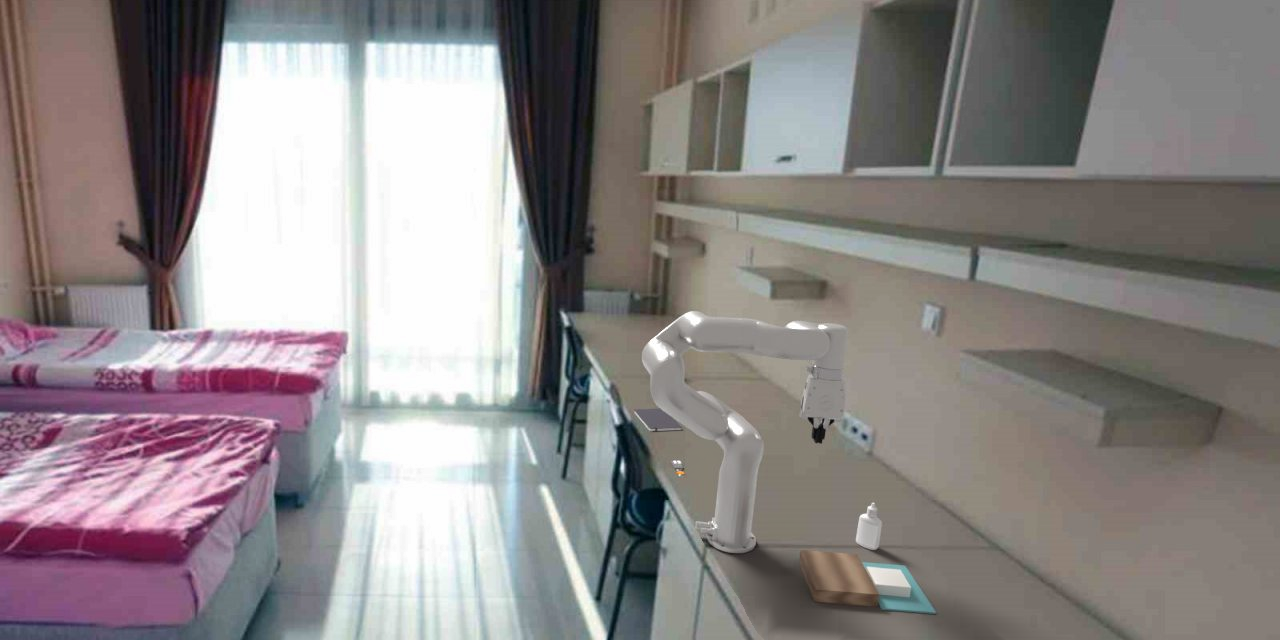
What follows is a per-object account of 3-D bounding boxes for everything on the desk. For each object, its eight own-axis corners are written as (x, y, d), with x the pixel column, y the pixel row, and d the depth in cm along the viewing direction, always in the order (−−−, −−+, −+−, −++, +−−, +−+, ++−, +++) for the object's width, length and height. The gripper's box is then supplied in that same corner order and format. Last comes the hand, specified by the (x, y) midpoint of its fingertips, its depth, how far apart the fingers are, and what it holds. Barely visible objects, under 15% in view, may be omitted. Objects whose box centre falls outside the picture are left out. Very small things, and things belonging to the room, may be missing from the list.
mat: (881, 609, 141) (881, 607, 141) (856, 563, 159) (856, 561, 159) (935, 613, 141) (936, 612, 141) (904, 567, 158) (905, 565, 158)
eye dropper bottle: (866, 552, 164) (873, 509, 162) (853, 540, 169) (859, 498, 167) (880, 550, 166) (887, 507, 163) (866, 538, 171) (873, 497, 168)
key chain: (669, 463, 210) (670, 459, 210) (680, 463, 211) (681, 459, 211) (677, 481, 198) (677, 476, 198) (689, 481, 198) (689, 476, 198)
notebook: (681, 431, 240) (663, 411, 260) (682, 427, 240) (663, 408, 259) (649, 432, 236) (633, 413, 256) (650, 428, 236) (633, 409, 256)
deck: (814, 601, 142) (816, 589, 142) (798, 560, 158) (800, 549, 157) (877, 606, 142) (879, 594, 141) (855, 565, 158) (857, 554, 157)
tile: (874, 594, 146) (875, 584, 145) (865, 576, 153) (866, 566, 152) (909, 597, 146) (911, 587, 145) (898, 579, 152) (900, 569, 152)
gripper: (800, 374, 157) (790, 444, 160) (861, 379, 156) (850, 449, 160) (794, 366, 164) (785, 433, 168) (852, 371, 164) (842, 438, 167)
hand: (817, 441), depth 164 cm, fingers closed
